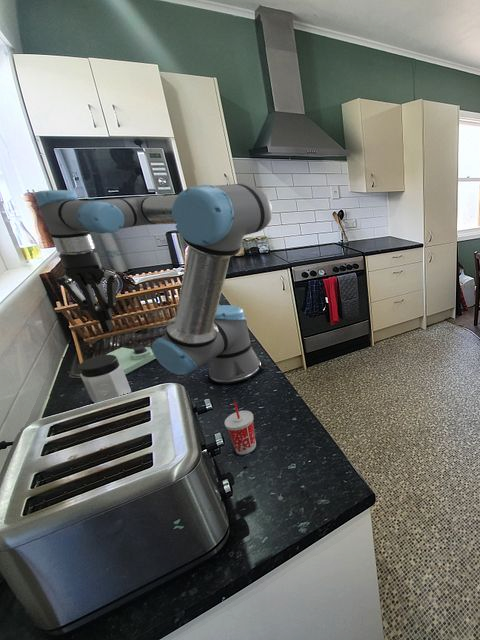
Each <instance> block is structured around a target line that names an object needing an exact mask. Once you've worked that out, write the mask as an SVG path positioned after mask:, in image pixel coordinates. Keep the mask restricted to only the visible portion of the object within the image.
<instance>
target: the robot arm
mask: <svg viewBox="0 0 480 640" xmlns="http://www.w3.org/2000/svg"><path fill="white" fill-rule="evenodd" d="M34 196H35V199H36V202H37V205H38V210H39V211H40V214H41V216H42V219H43V220H44V223H45V225H46V228H47V230H48V232H49V234H50V236H51V238H52V239H51V240H52V241H53V245H54V247H55V249H56V252H57V253H59V255H58V256H59V259H60V261H61V264H62V266H63V267H64V269H65V271H64V275H63V276H61V277H59V278H57V279H56V283H58V284H59V285H60V286H62V287H63V288H64V289H65V290H66V292H67V293H68V294H69V296H70V297H71V299H73V302H75V303H76V304H77V306H78V307H79V309H80V310H81V311H89V312H91V315H92V317H93V319H94V321H95V322H99V325H100V328H101V330H102V332H103V333H109V332H111V331H112V330H113V329H114V326H113V322H112V321H111V320H112V319H113V316H114V315H113V313H112V311H111V309H112V308H113V307H115V306H116V305H117V284H116V281H117V279H118V278H119V274H118V273H115V272H114V273H112V272H109V271H107V270H106V268H105V267H104V266H103V264H102V261H101V258H100V256H99V252H98V251H97V250H96V245H95V242H94V240H93V238H92V237H93V236H92V234H91V233H96V234H97V233H98V234H114V233H117V232H119V231H120V230H121V229H128V228H132V227H133V228H134V227H140V226H151V225H175V226H174V227H175V229H176V230H177V232H178V234H179V235H180V236H181V239H182V241H183V242H184V243H185V244H186V245H187V246H188V247H187V254H186V258H185V264H184V269H183V274H182V281H181V284H180V285H181V286H180V291H179V297H178V302H177V308H176V313H175V316H174V317H172V318H171V319H170V320H168V322H167V324H166V328H165V329H166V330H165V334H164V335H163V336H161V337H158V338H157V339H156V340H154V341H153V342H152V343H151V350H152V352H153V354H154V356H155V357H156V360H157V362H158V363H159V364H160V365H161V366H162V367H163V368H165V370H167V371H169V372H170V373H172V374H175V375H179V376H181V375H182V376H183V375H184V376H185V375H188V374H189V373H191V372H193V371H196V370H198V368H200V367H202V366H203V365H205V364H207V363H208V362H210V363H209V366H210V367H209V369H208V375H209V379H210V380H211V382H212V383H214V384H218V385H226V386H227V385H235V384H239V383H243V382H246V381H248V380H251V379H252V378H255V376H257V375H258V374H259V373H260V372H261V371H265V370H266V367H265V366H262V363H261V360H260V358H259V357H258V356H257V354H256V352H255V351H254V349H253V348H252V344H251V339H250V333H249V328H248V323H247V318H246V315H245V311H244V309H243V308H241V307H239V306H236V305H228V304H222V305H219V304H220V300H221V296H222V292H223V289H224V284H225V280H226V276H227V273H228V268H229V266H230V265H229V264H230V261H231V257H234V256H236V255H238V254H239V253H240V251H241V247H242V243H243V239H244V237H245V236H248V235H251V234H255V233H259V232H261V231H263V230H264V229H265V228H266V227H267V226H268V225H269V224H270V222H271V221H272V217H273V205H272V203H271V200H270V199H269V197H268V195H267V194H266V193H264V191H263V190H262V189H260V188H259V187H257V186H254V185H252V184H249V183H235V184H234V183H233V184H219V185H218V184H217V185H211V184H201V185H197V186H192V187H187V188H185V189H184V190H181V192H179V193H178V194H173V195H143V196H132V197H124V198H107V199H95V200H80V199H79V198H78V196H77V194H76V192H74V191H73V190H68V189H49V190H39V191H36V192H35V195H34ZM104 277H105V281H106V292H105V290H104V287H103V281H102V280H103V279H104ZM74 282H75V283H76V284H77V285H78V287H79V288H78V287H77V285H76V284H75V283H74Z"/></svg>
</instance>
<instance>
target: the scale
mask: <svg viewBox="0 0 480 640" xmlns="http://www.w3.org/2000/svg"><path fill="white" fill-rule="evenodd" d="M145 349H146V352H144V353H141V354H135V351H134V348H128V347H119V348H117V349H115V350H113V351H111V352H108V353H106V354H105V355H114V356H116V357H117V360H118V362H119V365H121V366H122V368H123V371H124V373H125V376H127V374H129V373H131V372H133V371H135V370H137V369H139V368H141V367H142V366H144V365H146V364H148V363H150V362H152V361H154V360H155V359H156V357H155V356H154V354H153V351H152V347H149V346H146V347H145ZM156 360H157V359H156Z"/></svg>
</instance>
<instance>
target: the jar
mask: <svg viewBox="0 0 480 640" xmlns="http://www.w3.org/2000/svg"><path fill="white" fill-rule="evenodd" d="M77 368H78V370H79V372H80V373H79V375H80V378H81V380H82V382H83V384H84V387H85V388H86V389H85V390H86V391H87V393H88V396H89V397H90V399H91V402H93V403H95V404H96V402H100V401H104V400H107V399H110V398H113V397H117V396H120V395H123V394H127V393H129V394H131V393H132V389H131V386H130V384H129V381H128V379H127V375H125V373H124V371H123V368H122V366H121V365H119V362H118V360H117V357H116V356H114V355H106V354H101V355H97V356H93V357H90V358H88V359H85V360H83V361H82V362H81V363H79V365H78V367H77Z"/></svg>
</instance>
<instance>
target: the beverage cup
mask: <svg viewBox="0 0 480 640" xmlns="http://www.w3.org/2000/svg"><path fill="white" fill-rule="evenodd" d="M233 405H234V409H235V412H233V413H231V414H229V415H228V416H227V417H226V418H225V420H224V426H225V428H226V429H227V432H228V435H229V436H230V439H231V442H232V446H233V448H234V450H235V452H236V454H238V455H247V454H249V453H251V452H253V451H254V450H255V449H256V447H257V441H256V432H255V427H254V426H255V425H254V414H253V413H252V411H249V410H239V409H238V404H237V401H236V400H234V401H233Z"/></svg>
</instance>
